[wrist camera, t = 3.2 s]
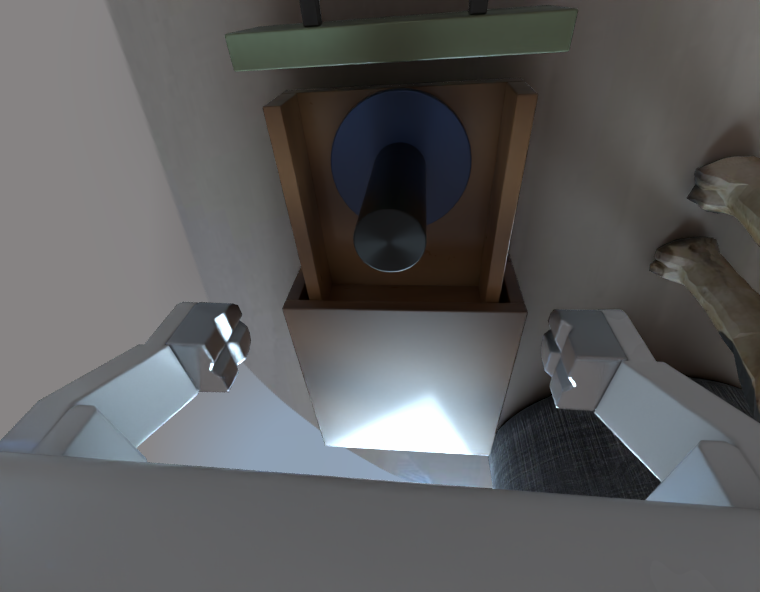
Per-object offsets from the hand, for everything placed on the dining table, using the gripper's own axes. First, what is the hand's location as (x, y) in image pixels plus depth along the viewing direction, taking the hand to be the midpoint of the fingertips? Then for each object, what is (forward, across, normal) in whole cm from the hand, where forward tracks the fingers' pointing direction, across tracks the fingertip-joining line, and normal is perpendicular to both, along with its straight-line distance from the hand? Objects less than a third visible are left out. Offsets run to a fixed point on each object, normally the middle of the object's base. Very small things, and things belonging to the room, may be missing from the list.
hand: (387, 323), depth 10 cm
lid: (+12, 0, 0) cm, 12 cm away
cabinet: (+14, 0, +14) cm, 20 cm away
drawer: (+13, 0, -1) cm, 13 cm away
